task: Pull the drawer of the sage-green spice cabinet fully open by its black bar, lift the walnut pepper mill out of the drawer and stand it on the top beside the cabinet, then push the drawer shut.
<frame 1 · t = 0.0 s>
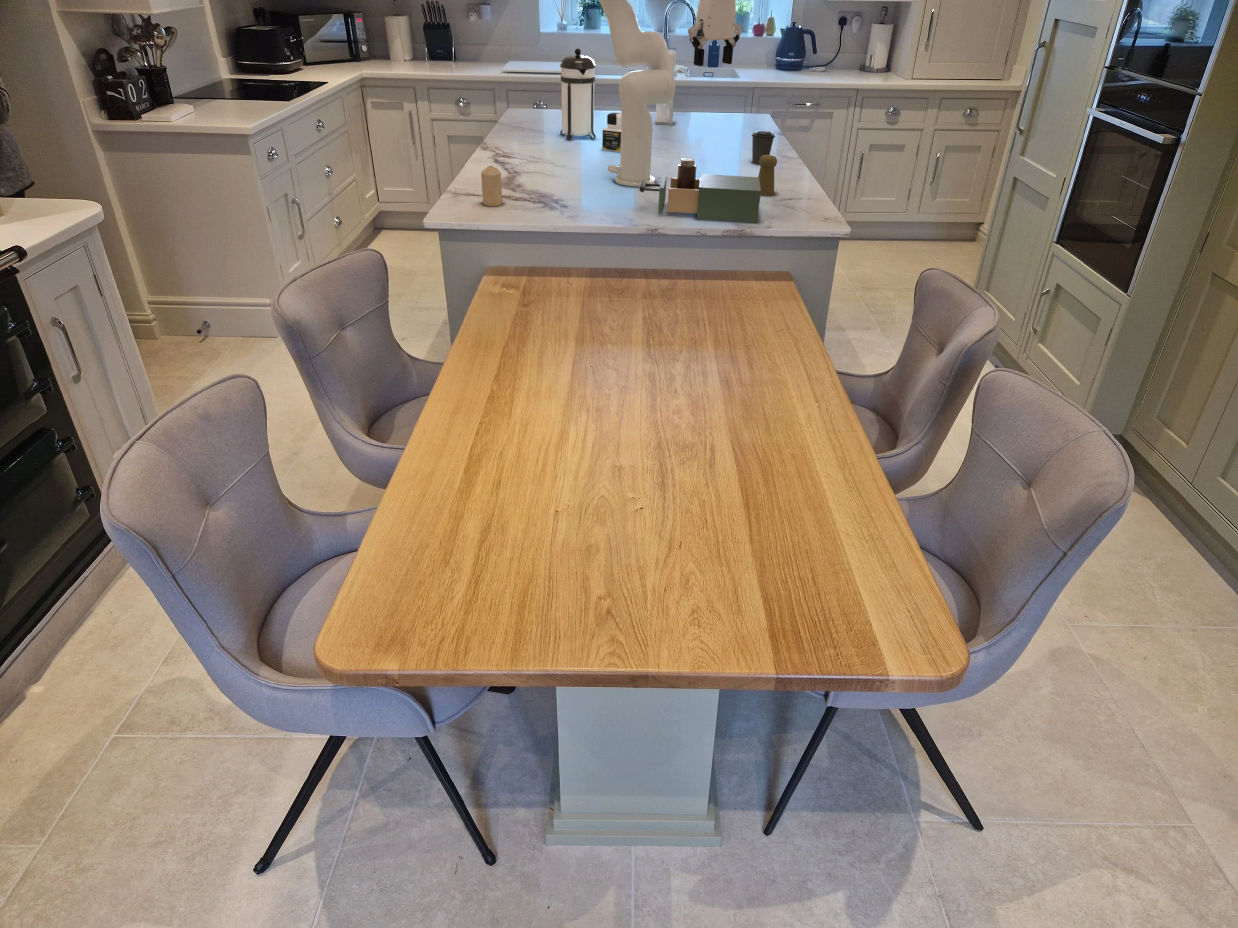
hand: (712, 64, 211), 37 cm above the table, tool pointing down, fingers open, 9 cm apart
candle: (492, 204, 230), on the table
coffee cup: (759, 163, 280), on the table
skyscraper: (663, 123, 334), on the table
pepper mill: (684, 203, 228), point 2 cm above the table, touching drawer
medicine bottle: (614, 150, 291), on the table
drawer: (677, 195, 227), point 4 cm above the table, slide at 9.5 cm, touching pepper mill
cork: (764, 193, 247), on the table
coffee press: (576, 137, 307), on the table
cabinet: (726, 213, 228), on the table
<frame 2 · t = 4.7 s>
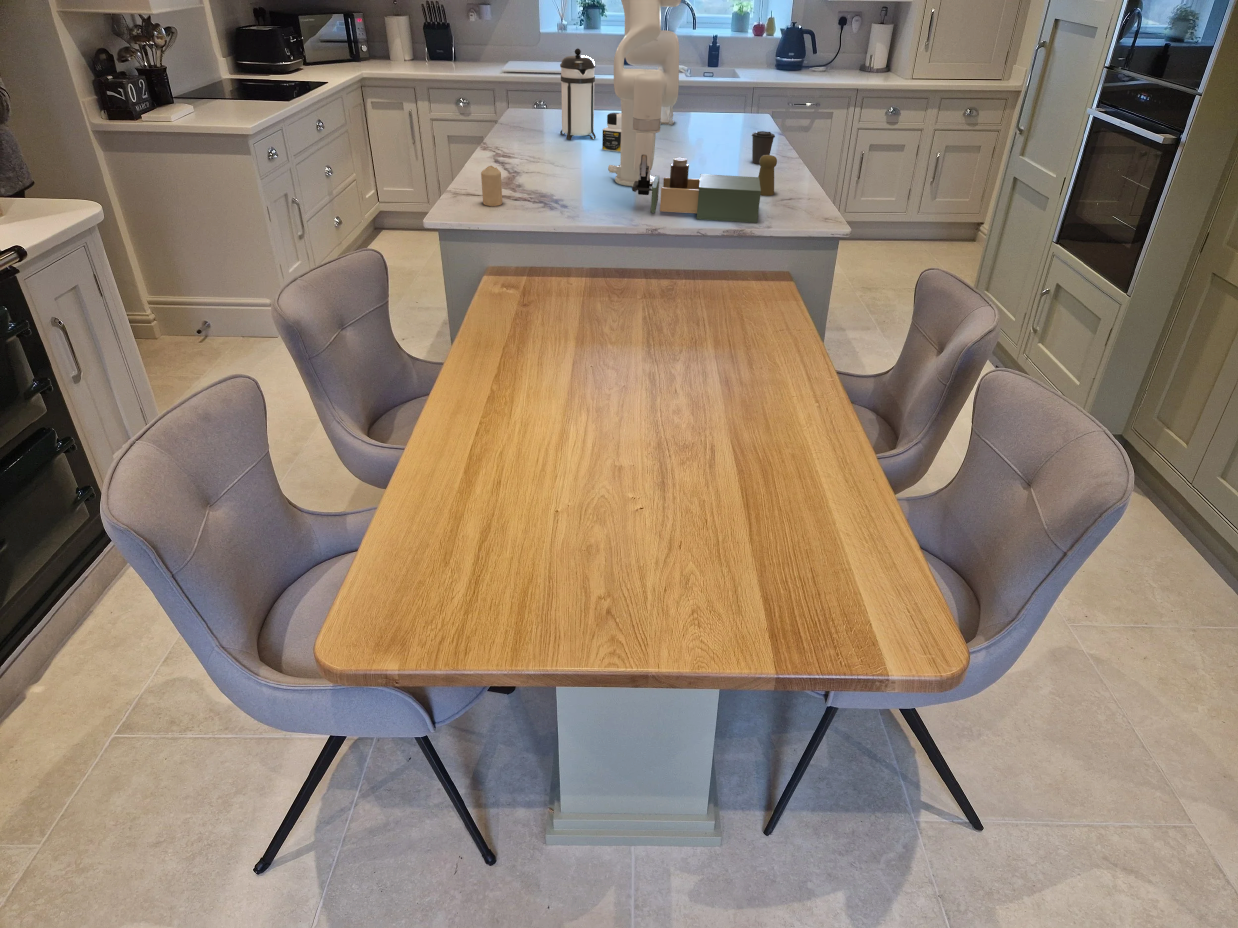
hand: (643, 194, 228), 4 cm above the table, tool pointing down, fingers closed
pepper mill: (677, 203, 228), point 2 cm above the table, touching drawer
drawer: (670, 194, 227), point 4 cm above the table, slide at 11.6 cm, touching gripper, pepper mill
everything else where it was.
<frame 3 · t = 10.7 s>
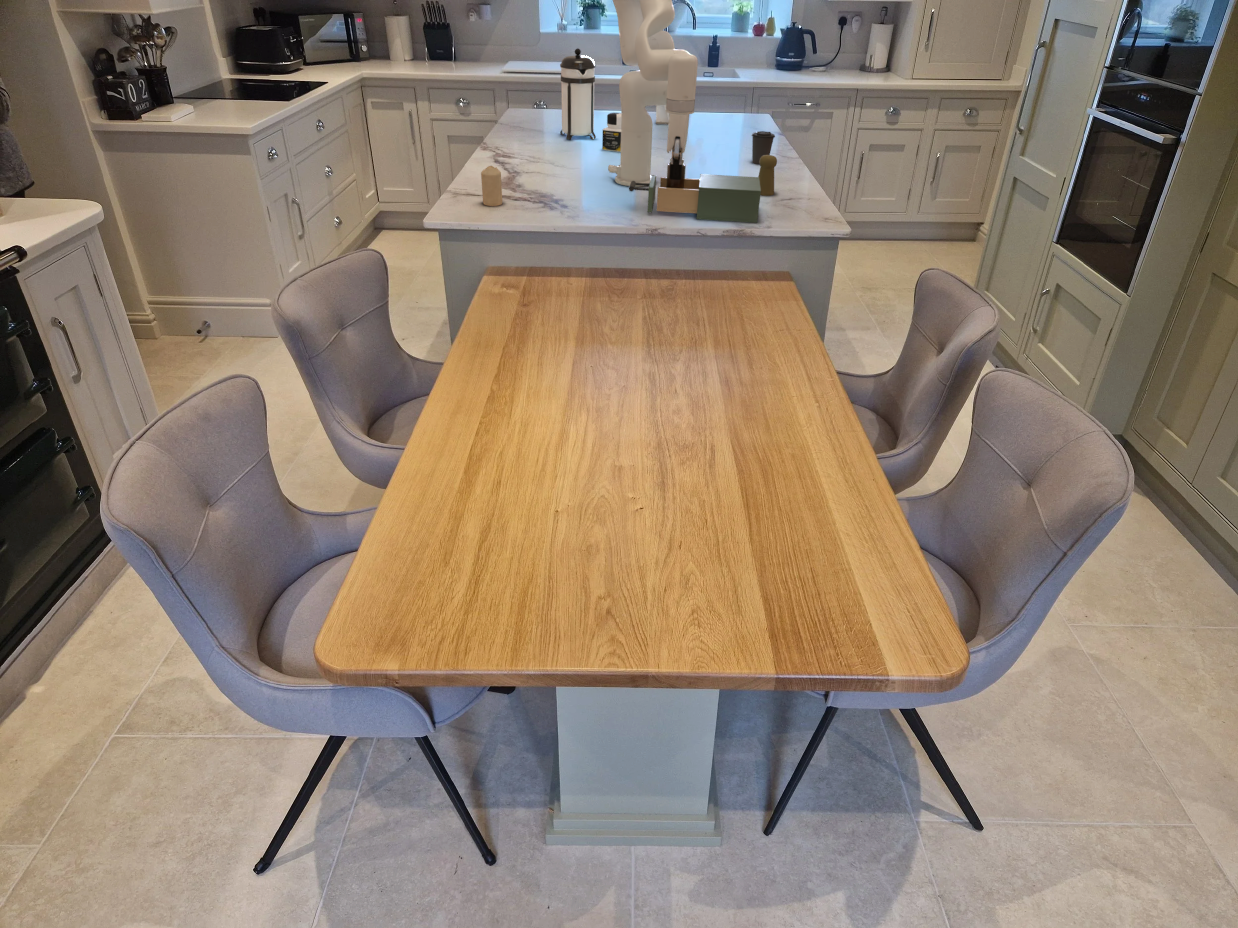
hand: (675, 176, 224), 9 cm above the table, tool pointing down, fingers closed on pepper mill, 5 cm apart
pepper mill: (674, 203, 228), point 2 cm above the table, touching drawer, gripper
drawer: (667, 194, 227), point 4 cm above the table, slide at 12.5 cm, touching pepper mill
everything else where it was.
when the fingers open (7 cm above the table, at t = 17.5 s): pepper mill stays where it is, on the table.
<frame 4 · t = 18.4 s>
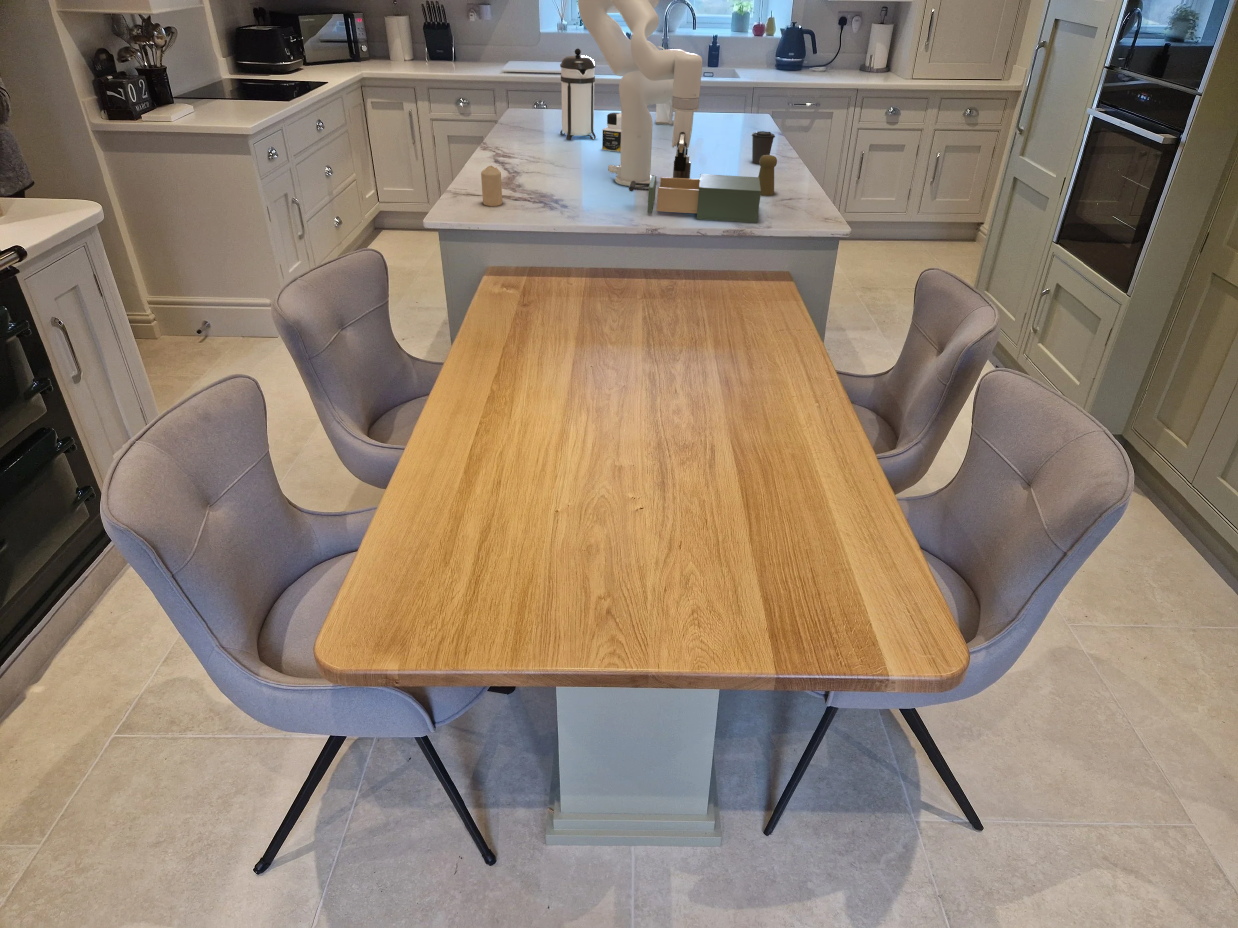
hand: (680, 166, 235), 9 cm above the table, tool pointing down, fingers open, 9 cm apart
pepper mill: (679, 198, 240), on the table
drawer: (667, 194, 227), point 4 cm above the table, slide at 12.5 cm
everything else where it was.
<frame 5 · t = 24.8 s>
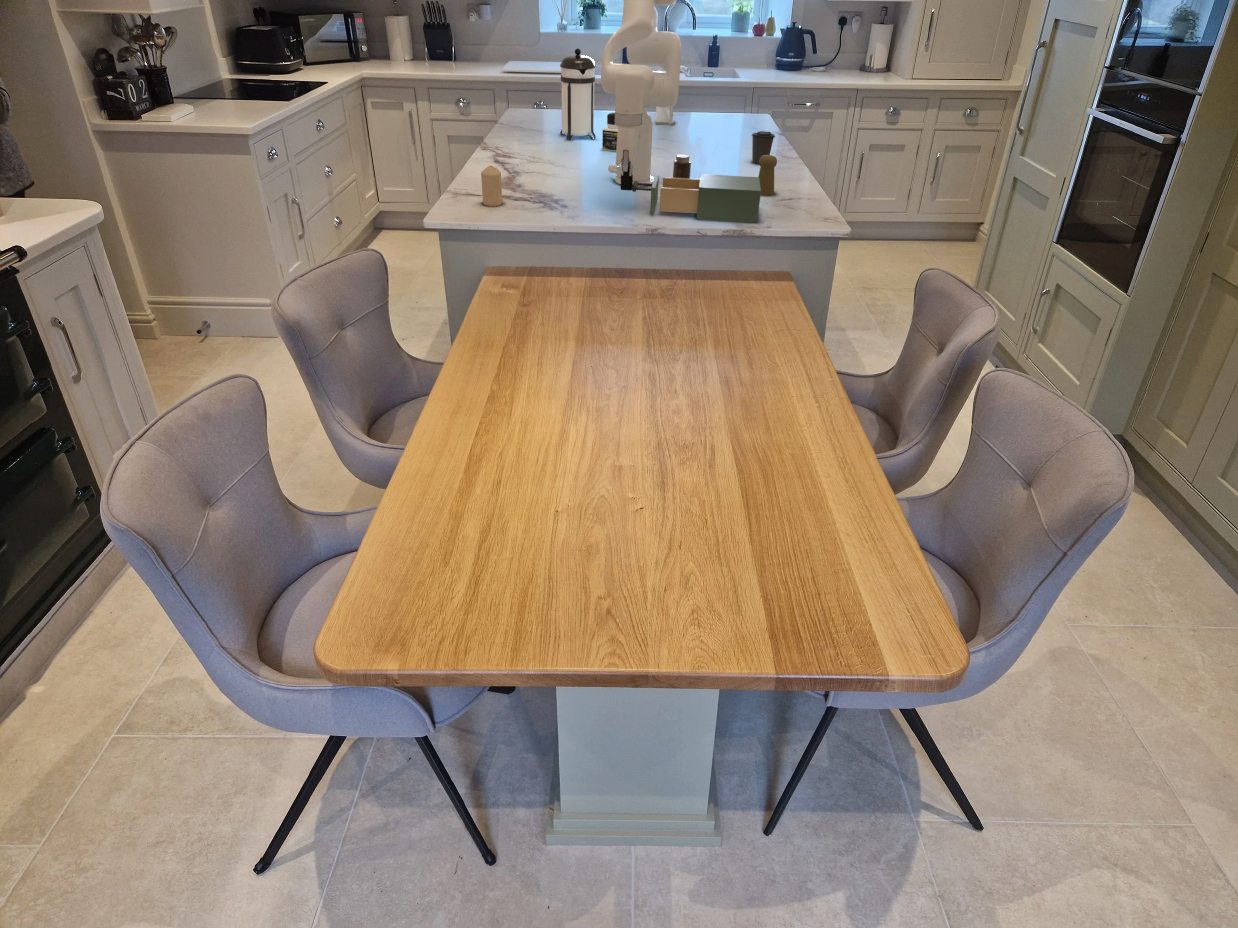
hand: (626, 189, 227), 5 cm above the table, tool pointing down, fingers closed
drawer: (669, 194, 227), point 4 cm above the table, slide at 11.8 cm, touching gripper
everything else where it was.
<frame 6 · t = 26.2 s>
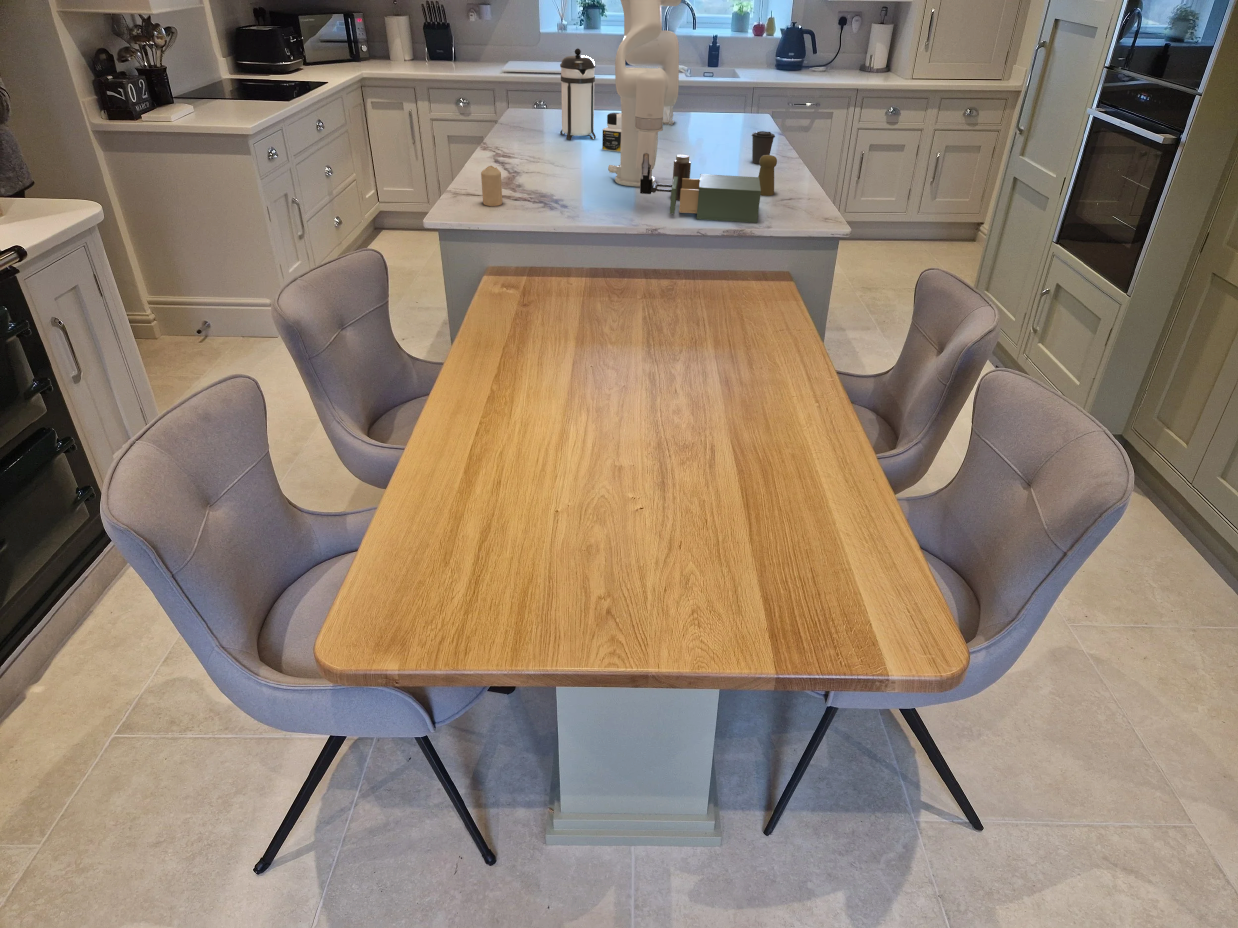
hand: (645, 193, 227), 4 cm above the table, tool pointing down, fingers closed
drawer: (689, 195, 227), point 4 cm above the table, slide at 6.2 cm, touching gripper
everything else where it was.
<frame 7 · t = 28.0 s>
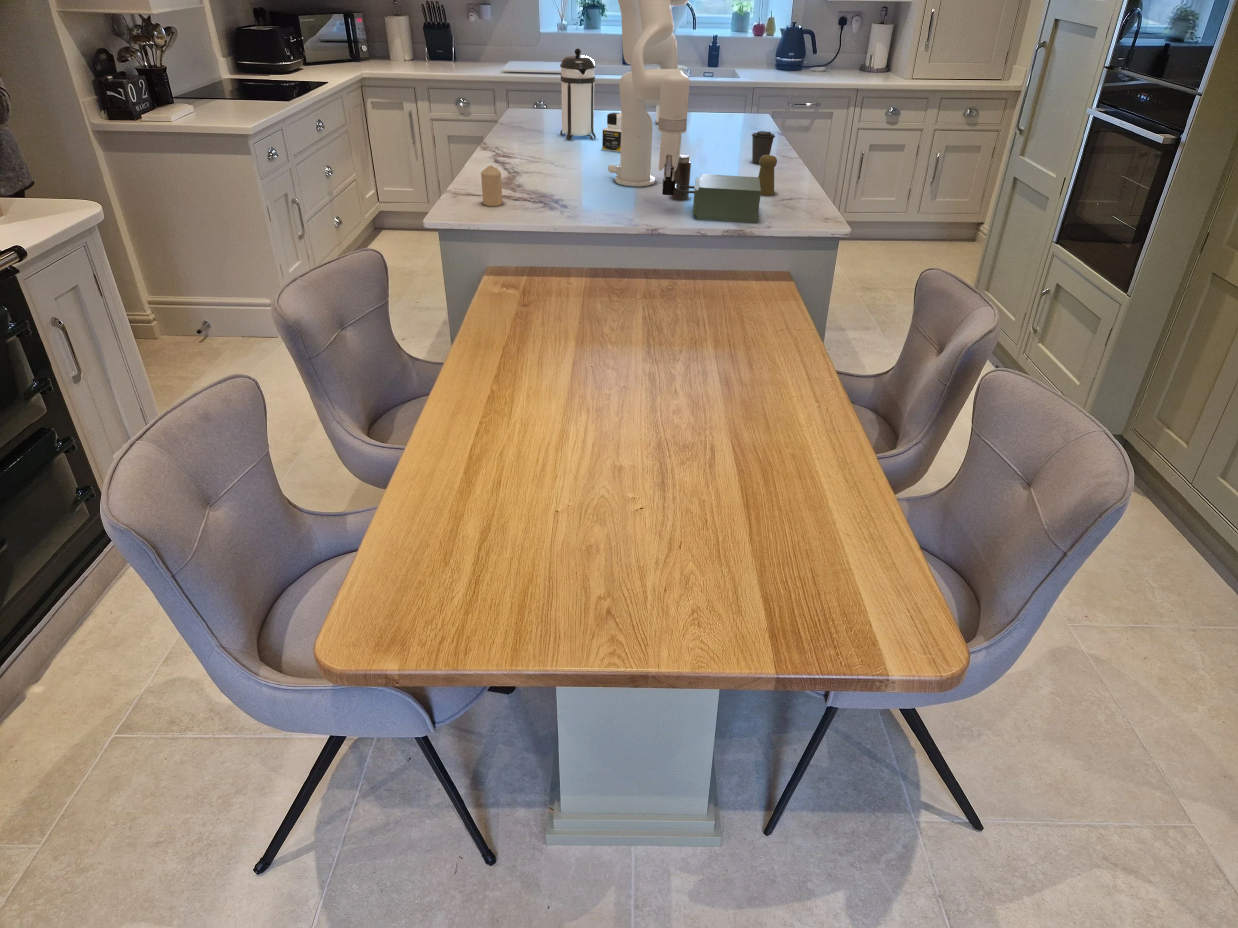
hand: (668, 194, 227), 4 cm above the table, tool pointing down, fingers closed
drawer: (711, 197, 226), point 4 cm above the table, slide at 0.0 cm, touching cabinet, gripper
everything else where it was.
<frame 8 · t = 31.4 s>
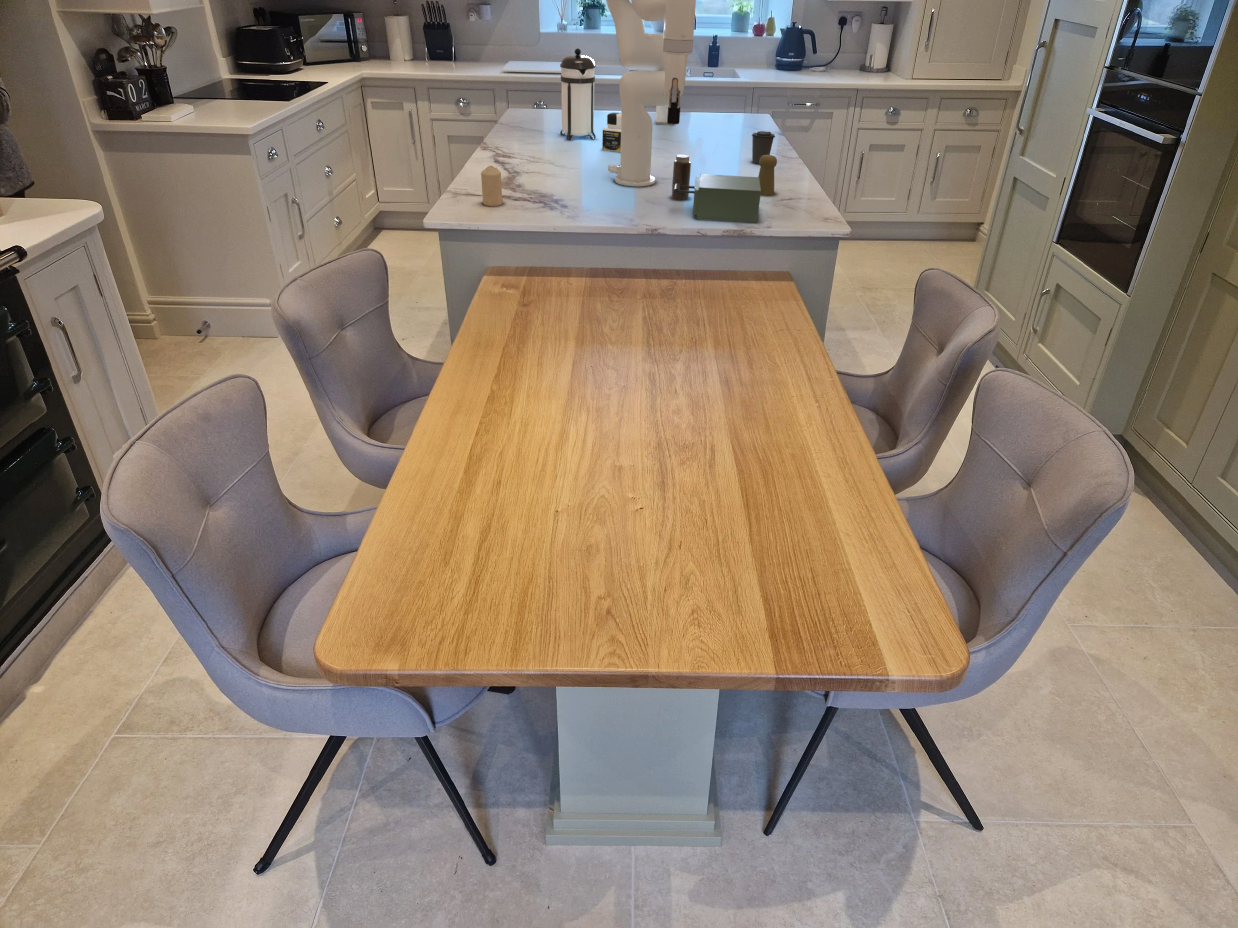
hand: (673, 123, 217), 23 cm above the table, tool pointing down, fingers closed
drawer: (711, 197, 226), point 4 cm above the table, slide at 0.0 cm, touching cabinet
everything else where it was.
at the end: pepper mill inside the target area (0.2 cm from its centre), on the table; drawer slide at 0.0 cm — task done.
